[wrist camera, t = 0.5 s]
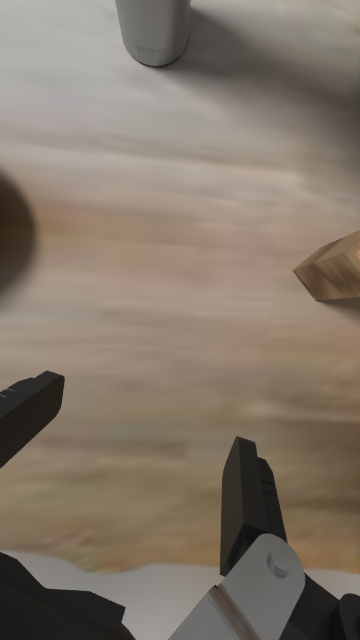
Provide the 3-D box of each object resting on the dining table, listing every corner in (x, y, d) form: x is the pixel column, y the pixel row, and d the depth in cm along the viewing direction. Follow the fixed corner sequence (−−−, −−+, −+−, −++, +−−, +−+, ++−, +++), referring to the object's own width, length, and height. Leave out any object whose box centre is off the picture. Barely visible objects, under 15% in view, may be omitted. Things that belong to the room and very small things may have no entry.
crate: (292, 270, 36) (344, 252, 25) (322, 246, 36) (387, 218, 25) (315, 300, 36) (376, 295, 25) (345, 276, 36) (419, 261, 25)
